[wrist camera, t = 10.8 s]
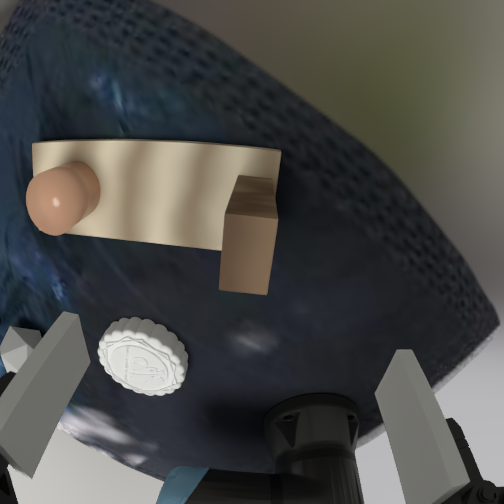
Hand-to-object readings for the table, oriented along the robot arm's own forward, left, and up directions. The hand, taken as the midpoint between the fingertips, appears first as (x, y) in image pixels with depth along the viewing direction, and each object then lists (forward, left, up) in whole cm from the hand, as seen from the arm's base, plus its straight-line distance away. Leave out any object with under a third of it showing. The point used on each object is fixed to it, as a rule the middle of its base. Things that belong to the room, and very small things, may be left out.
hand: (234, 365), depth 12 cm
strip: (+11, -1, -21) cm, 23 cm away
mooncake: (+12, +21, -21) cm, 32 cm away
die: (+32, +24, -21) cm, 45 cm away
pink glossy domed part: (+18, -1, -19) cm, 26 cm away
